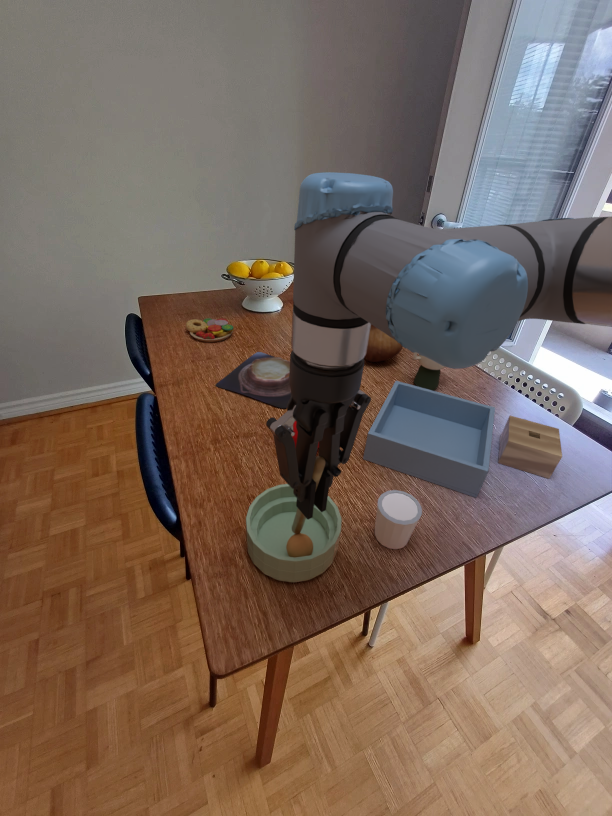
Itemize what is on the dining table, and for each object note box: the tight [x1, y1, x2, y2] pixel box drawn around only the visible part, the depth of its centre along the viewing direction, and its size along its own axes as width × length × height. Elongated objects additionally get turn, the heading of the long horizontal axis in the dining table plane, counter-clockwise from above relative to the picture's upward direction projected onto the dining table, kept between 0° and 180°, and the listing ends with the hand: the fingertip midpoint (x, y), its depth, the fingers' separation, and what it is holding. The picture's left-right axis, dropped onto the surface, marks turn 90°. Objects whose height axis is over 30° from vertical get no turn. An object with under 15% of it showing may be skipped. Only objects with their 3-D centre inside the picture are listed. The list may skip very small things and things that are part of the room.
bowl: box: [245, 483, 343, 583], centre depth 61 cm, size 14×14×6 cm
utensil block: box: [497, 415, 563, 480], centre depth 82 cm, size 10×10×6 cm
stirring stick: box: [292, 455, 325, 534], centre depth 54 cm, size 2×2×18 cm
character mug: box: [412, 352, 446, 391], centre depth 101 cm, size 11×7×13 cm, turn 99°
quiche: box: [215, 351, 291, 409], centre depth 102 cm, size 21×20×4 cm
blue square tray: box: [362, 380, 496, 499], centre depth 83 cm, size 22×22×7 cm
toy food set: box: [185, 317, 234, 343], centre depth 121 cm, size 13×13×3 cm
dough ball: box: [286, 533, 313, 557], centre depth 59 cm, size 4×4×4 cm
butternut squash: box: [364, 324, 403, 363], centre depth 108 cm, size 14×13×25 cm
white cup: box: [374, 489, 423, 550], centre depth 63 cm, size 7×7×7 cm
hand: (311, 507), depth 54 cm, fingers closed on stirring stick, 1 cm apart
